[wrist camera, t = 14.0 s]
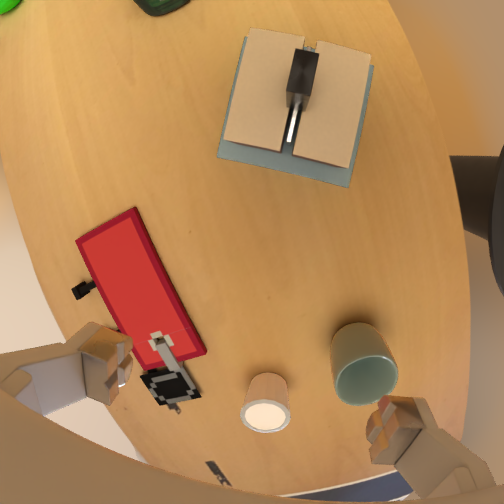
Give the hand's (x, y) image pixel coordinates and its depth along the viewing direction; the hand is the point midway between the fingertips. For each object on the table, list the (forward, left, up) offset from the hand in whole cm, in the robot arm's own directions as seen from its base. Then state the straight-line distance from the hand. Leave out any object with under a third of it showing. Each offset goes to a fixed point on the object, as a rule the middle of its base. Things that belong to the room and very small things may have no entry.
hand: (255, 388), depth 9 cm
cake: (-4, -13, -31) cm, 34 cm away
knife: (-4, -13, -28) cm, 31 cm away
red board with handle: (+22, +12, -31) cm, 40 cm away
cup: (-8, +18, -31) cm, 37 cm away
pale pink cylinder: (+5, +25, -31) cm, 40 cm away
